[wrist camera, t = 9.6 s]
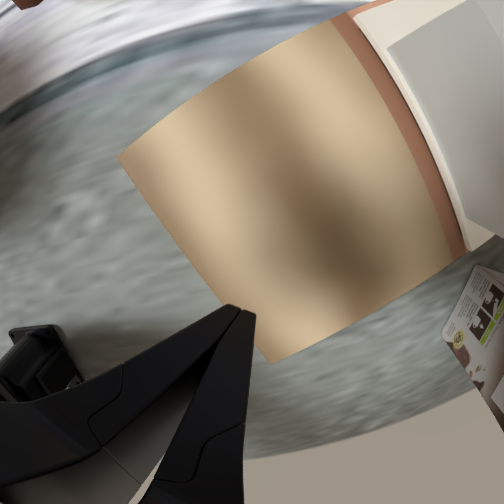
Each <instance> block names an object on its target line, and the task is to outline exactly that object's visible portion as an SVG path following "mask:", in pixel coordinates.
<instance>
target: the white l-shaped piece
mask: <svg viewBox="0 0 504 504" xmlns="http://www.w3.org/2000/svg"><path fill="white" fill-rule="evenodd" d="M353 19H354V21H355V22H356V23H357V25H358V26H359V28H360V29H361V30H362V32H363V33H364V35H365V36H366V37H367V39H368V40H369V42H370V43H371V45H372V46H373V48H374V49H375V51H376V52H377V54H378V55H379V57H380V58H381V60H382V61H383V63H384V64H385V66H386V68H387V69H388V71H389V73H390V74H391V76H392V78H393V79H394V81H395V83H396V84H397V86H398V88H399V89H400V91H401V93H402V95H403V97H404V98H405V100H406V102H407V104H408V106H409V108H410V109H411V111H412V113H413V115H414V117H415V119H416V121H417V123H418V125H419V127H420V129H421V131H422V133H423V135H424V137H425V139H426V142H427V144H428V146H429V148H430V150H431V153H432V155H433V157H434V159H435V162H436V164H437V166H438V169H439V171H440V174H441V176H442V179H443V181H444V184H445V186H446V189H447V192H448V194H449V197H450V200H451V202H452V205H453V208H454V211H455V214H456V217H457V220H458V223H459V226H460V229H461V232H462V236H463V239H464V242H465V246H466V248H467V249H468V250H470V251H471V252H473V251H474V250H475V249H477V248H478V247H479V246H481V245H482V244H484V243H485V242H486V241H488V240H489V239H490V238H492V237H493V236H494V235H495V234H496V235H498V236H500V237H501V238H503V239H504V0H393V1H390V2H388V3H385V4H382V5H379V6H377V7H374V8H371V9H369V10H366V11H364V12H361V13H359V14H356V15H355V17H354V18H353Z"/></svg>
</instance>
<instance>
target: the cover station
mask: <svg viewBox="0 0 504 504" xmlns="http://www.w3.org/2000/svg"><path fill="white" fill-rule="evenodd" d="M390 1H393V0H376V1H374V2H371V3H368V4H365V5H363V6H360V7H358V8H355V9H353V10H350V11H348V12H345V13H343V14H341V15H338V16H336V17H334V18H331V19H329V20H327V21H325V22H323V23H320V24H318V25H316V26H314V27H312V28H310V29H308V30H306V31H304V32H302V33H300V34H298V35H296V36H294V37H292V38H290V39H288V40H286V41H284V42H282V43H280V44H278V45H276V46H275V47H273V48H271V49H269V50H267V51H265V52H264V53H262V54H260V55H258V56H257V57H255V58H253V59H252V60H250V61H248V62H246V63H245V64H243V65H241V66H240V67H238V68H237V69H235V70H233V71H232V72H230V73H228V74H227V75H225V76H224V77H222V78H221V79H219V80H218V81H216V82H214V83H213V84H211V85H210V86H208V87H207V88H205V89H204V90H203V91H201V92H200V93H198V94H197V95H195V96H194V97H192V98H191V99H190V100H188V101H187V102H185V103H184V104H183V105H181V106H180V107H178V108H177V109H176V110H174V111H173V112H172V113H170V114H169V115H168V116H166V117H165V118H164V119H162V120H161V121H160V122H158V123H157V124H156V125H155V126H153V127H152V128H151V129H150V130H148V131H147V132H146V133H145V134H143V135H142V136H141V137H140V138H138V139H137V140H136V141H135V142H134V143H132V144H131V145H130V146H129V147H128V148H126V149H125V150H124V151H123V152H122V153H121V154H119V155H118V156H117V157H116V158H117V159H118V161H119V162H120V164H121V165H122V167H123V168H124V170H125V171H126V173H127V174H128V176H129V177H130V179H131V180H132V181H133V183H134V184H135V186H136V187H137V189H138V190H139V192H140V193H141V195H142V196H143V197H144V199H145V200H146V202H147V203H148V205H149V206H150V207H151V209H152V210H153V212H154V213H155V214H156V216H157V217H158V219H159V220H160V221H161V223H162V224H163V226H164V227H165V228H166V230H167V231H168V233H169V234H170V235H171V237H172V238H173V239H174V241H175V242H176V244H177V245H178V246H179V248H180V249H181V250H182V252H183V253H184V254H185V256H186V257H187V258H188V260H189V261H190V262H191V264H192V265H193V266H194V268H195V269H196V270H197V272H198V273H199V274H200V276H201V277H202V278H203V280H204V281H205V282H206V284H207V285H208V286H209V288H210V289H211V290H212V291H213V293H214V294H215V295H216V297H217V298H218V299H219V300H220V302H221V303H222V304H223V306H224V305H226V304H233V305H235V306H238V307H240V308H241V309H242V310H243V309H245V310H248V311H251V312H253V313H255V314H256V327H255V337H254V344H255V346H256V347H257V348H258V349H259V350H260V352H261V353H262V354H263V355H264V357H265V358H266V359H267V360H268V361H269V363H270V364H273V363H275V362H277V361H279V360H282V359H284V358H286V357H288V356H290V355H292V354H294V353H296V352H298V351H300V350H302V349H305V348H307V347H309V346H311V345H313V344H315V343H317V342H319V341H321V340H322V339H324V338H326V337H328V336H330V335H332V334H334V333H336V332H338V331H340V330H342V329H343V328H345V327H347V326H349V325H351V324H353V323H355V322H356V321H358V320H360V319H362V318H364V317H365V316H367V315H369V314H371V313H372V312H374V311H376V310H378V309H379V308H381V307H383V306H385V305H386V304H388V303H390V302H391V301H393V300H395V299H396V298H398V297H400V296H401V295H403V294H405V293H406V292H408V291H409V290H411V289H413V288H414V287H416V286H417V285H419V284H421V283H422V282H424V281H425V280H427V279H428V278H430V277H432V276H433V275H435V274H436V273H438V272H439V271H441V270H442V269H444V268H445V267H447V266H448V265H450V264H451V263H452V262H454V261H455V260H457V259H458V258H460V257H461V256H463V255H464V254H465V253H467V252H468V251H470V250H468V249H467V248H466V246H465V242H464V239H463V236H462V232H461V229H460V226H459V223H458V220H457V217H456V214H455V211H454V208H453V205H452V202H451V200H450V197H449V194H448V192H447V189H446V186H445V184H444V181H443V179H442V176H441V174H440V171H439V169H438V166H437V164H436V162H435V159H434V157H433V155H432V153H431V150H430V148H429V146H428V144H427V142H426V139H425V137H424V135H423V133H422V131H421V129H420V127H419V125H418V123H417V121H416V119H415V117H414V115H413V113H412V111H411V109H410V108H409V106H408V104H407V102H406V100H405V98H404V97H403V95H402V93H401V91H400V89H399V88H398V86H397V84H396V83H395V81H394V79H393V78H392V76H391V74H390V73H389V71H388V69H387V68H386V66H385V64H384V63H383V61H382V60H381V58H380V57H379V55H378V54H377V52H376V51H375V49H374V48H373V46H372V45H371V43H370V42H369V40H368V39H367V37H366V36H365V35H364V33H363V32H362V30H361V29H360V28H359V26H358V25H357V23H356V22H355V21H354V19H353V18H354V17H355V15H356V14H359V13H361V12H364V11H366V10H369V9H371V8H374V7H377V6H379V5H382V4H385V3H388V2H390Z"/></svg>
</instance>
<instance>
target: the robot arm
mask: <svg viewBox="0 0 504 504" xmlns="http://www.w3.org/2000/svg"><path fill="white" fill-rule="evenodd" d="M255 327H256V314H255V313H253V312H251V311H248V310H245V309H243V310H242V309H241V308H240V307H238V306H235V305H233V304H226V305H224V306H222V307H220V308H219V309H217V310H215V311H214V312H212V313H210V314H208V315H207V316H205V317H203V318H202V319H200V320H198V321H196V322H195V323H193V324H191V325H189V326H188V327H186V328H184V329H182V330H181V331H179V332H177V333H175V334H174V335H172V336H170V337H168V338H167V339H165V340H163V341H161V342H160V343H158V344H156V345H154V346H152V347H151V348H149V349H147V350H145V351H144V352H142V353H140V354H138V355H136V356H135V357H133V358H131V359H129V360H127V361H125V362H124V364H123V363H122V364H120V365H118V366H116V367H114V368H112V369H111V370H109V371H107V372H105V373H103V374H101V375H99V376H97V377H95V378H92V379H90V380H88V381H85V382H84V380H83V378H82V377H81V375H80V374H79V372H78V370H77V369H76V367H75V365H74V364H73V362H72V360H71V359H70V357H69V355H68V354H67V352H66V350H65V348H64V346H63V345H62V343H61V341H60V339H59V337H58V336H57V334H56V332H55V330H54V328H53V327H52V326H50V325H45V326H36V327H26V328H16V329H11V330H10V331H9V336H10V338H11V340H12V341H13V343H14V346H13V347H12V348H11V349H10V350H9V351H8V352H7V353H6V354H5V355H4V356H3V357H2V358H1V360H0V504H128V503H129V501H130V500H131V499H132V498H133V496H134V495H135V494H136V492H137V491H138V490H139V488H140V487H141V484H143V483H144V481H145V480H146V478H147V477H148V476H149V474H150V473H151V471H152V470H153V469H154V467H155V466H156V465H157V463H158V462H159V460H160V459H161V458H162V456H163V455H164V453H165V452H166V453H165V455H164V457H163V459H162V461H161V463H160V465H159V467H158V470H157V472H156V474H155V476H154V479H153V480H152V482H151V484H150V486H149V488H148V489H147V491H146V493H145V494H144V496H143V498H142V499H141V500H140V502H139V503H138V504H244V488H243V447H244V435H245V423H246V415H247V405H248V396H249V386H250V376H251V367H252V357H253V347H254V337H255ZM67 387H69V388H68V389H67Z"/></svg>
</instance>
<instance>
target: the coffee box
mask: <svg viewBox="0 0 504 504" xmlns="http://www.w3.org/2000/svg"><path fill="white" fill-rule="evenodd" d="M441 335H442V337H443V339H444V340H445V341H446V343H447V344H448V346H449V347H450V348H451V350H452V351H453V353H454V354H455V356H456V357H457V359H458V360H459V361H460V363H461V364H462V366H463V367H464V369H465V371H466V372H467V374H468V375H469V377H470V378H471V380H472V381H473V383H474V384H475V386H476V387H477V389H478V390H479V391H480V393H481V395H482V397H483V398H484V400H485V401H486V403H487V405H488V406H489V408H490V410H491V411H492V413H493V415H494V416H495V418H496V420H497V421H498V423H499V425H500V427H501V428H502V430H503V432H504V274H502V273H500V272H497V271H494V270H491V269H489V268H486V267H483V266H481V265H477V264H476V265H475V267H474V269H473V271H472V273H471V275H470V277H469V280H468V282H467V284H466V286H465V288H464V290H463V292H462V294H461V296H460V298H459V300H458V302H457V304H456V306H455V308H454V310H453V312H452V314H451V316H450V318H449V320H448V321H447V323H446V325H445V327H444V329H443V330H442V333H441Z"/></svg>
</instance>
